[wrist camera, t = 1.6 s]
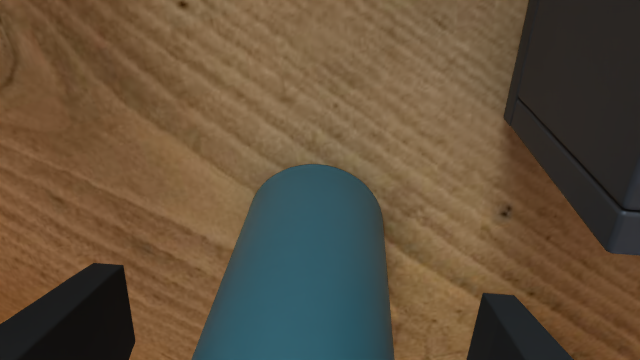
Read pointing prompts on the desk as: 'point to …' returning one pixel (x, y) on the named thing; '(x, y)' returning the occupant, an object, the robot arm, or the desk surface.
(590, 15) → the bin
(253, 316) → the teal cylinder
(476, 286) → the desk surface
